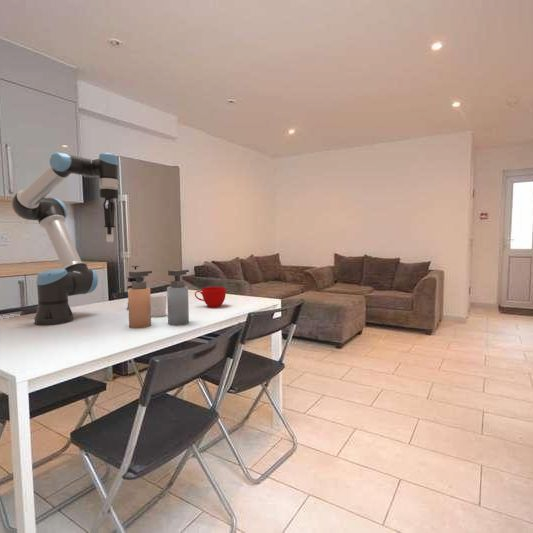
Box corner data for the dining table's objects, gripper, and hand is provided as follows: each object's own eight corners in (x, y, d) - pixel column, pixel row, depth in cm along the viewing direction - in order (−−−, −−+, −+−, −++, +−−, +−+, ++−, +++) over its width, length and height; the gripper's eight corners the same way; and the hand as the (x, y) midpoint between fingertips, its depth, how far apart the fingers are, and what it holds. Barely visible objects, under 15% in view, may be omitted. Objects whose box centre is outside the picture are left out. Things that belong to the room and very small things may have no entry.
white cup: (148, 314, 176) (148, 294, 175) (165, 313, 180) (164, 293, 179) (151, 317, 169) (150, 296, 168) (168, 316, 173) (167, 295, 172)
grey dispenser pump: (136, 289, 149) (135, 272, 149) (129, 288, 151) (128, 271, 151) (154, 286, 157) (154, 270, 157) (148, 285, 160) (147, 270, 159)
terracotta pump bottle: (138, 328, 148) (136, 283, 147) (124, 326, 153) (123, 282, 151) (155, 324, 155) (154, 281, 154) (142, 322, 160) (141, 280, 159)
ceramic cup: (195, 305, 202) (194, 287, 201) (225, 303, 205) (225, 286, 204) (194, 309, 189) (194, 290, 188) (226, 308, 192) (226, 289, 192)
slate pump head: (175, 287, 153) (175, 271, 153) (168, 286, 156) (168, 270, 155) (191, 284, 161) (191, 269, 161) (184, 284, 164) (184, 269, 163)
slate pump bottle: (177, 326, 152) (176, 282, 151) (163, 323, 157) (162, 280, 156) (193, 322, 160) (192, 279, 158) (178, 319, 165) (178, 278, 163)
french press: (122, 308, 191) (121, 266, 189) (136, 306, 199) (135, 264, 198) (138, 310, 186) (137, 266, 184) (151, 307, 194) (150, 265, 192)
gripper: (115, 187, 155) (116, 242, 157) (120, 191, 167) (121, 241, 169) (96, 186, 153) (97, 242, 155) (103, 190, 166) (104, 241, 168)
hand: (110, 241), depth 162 cm, fingers closed
